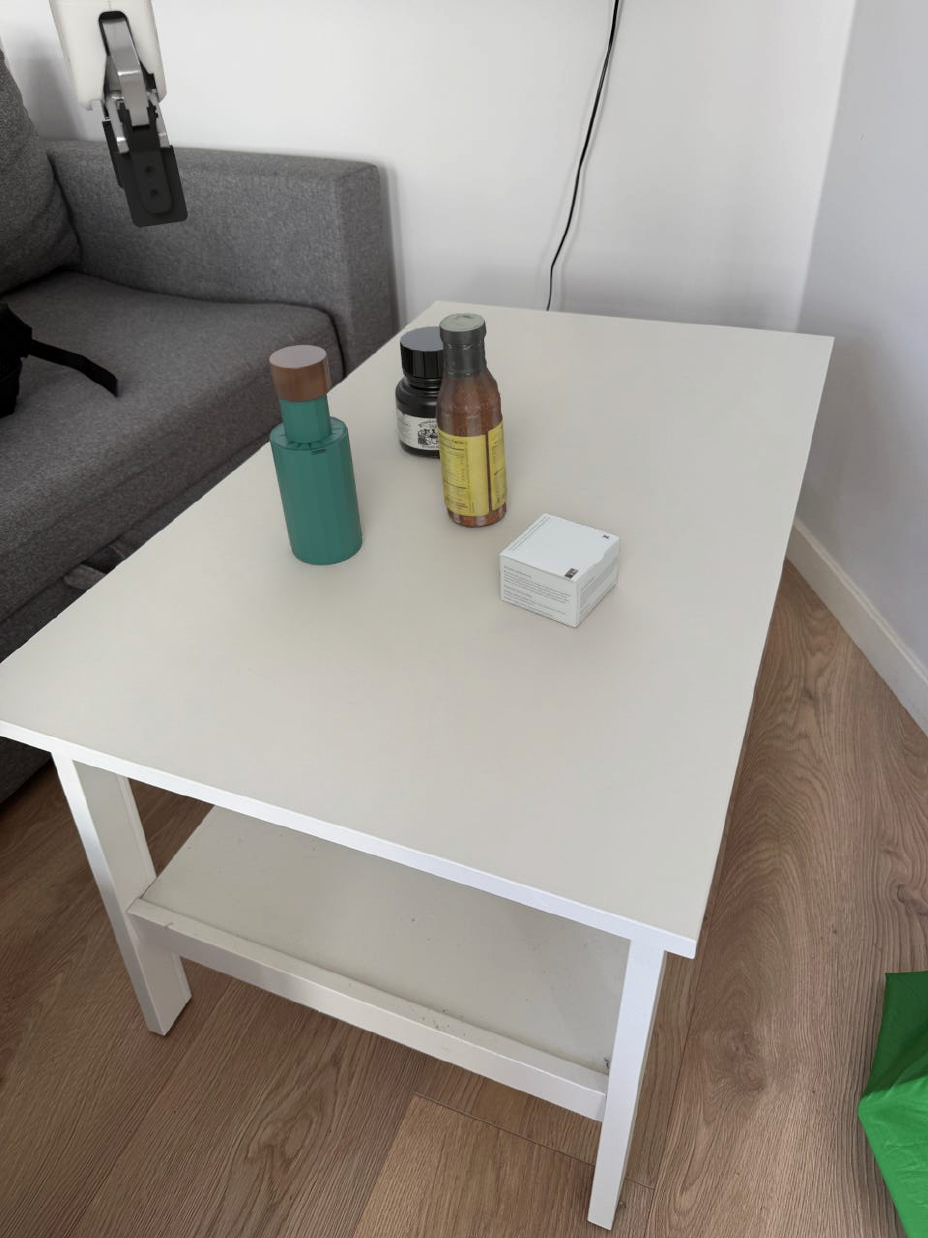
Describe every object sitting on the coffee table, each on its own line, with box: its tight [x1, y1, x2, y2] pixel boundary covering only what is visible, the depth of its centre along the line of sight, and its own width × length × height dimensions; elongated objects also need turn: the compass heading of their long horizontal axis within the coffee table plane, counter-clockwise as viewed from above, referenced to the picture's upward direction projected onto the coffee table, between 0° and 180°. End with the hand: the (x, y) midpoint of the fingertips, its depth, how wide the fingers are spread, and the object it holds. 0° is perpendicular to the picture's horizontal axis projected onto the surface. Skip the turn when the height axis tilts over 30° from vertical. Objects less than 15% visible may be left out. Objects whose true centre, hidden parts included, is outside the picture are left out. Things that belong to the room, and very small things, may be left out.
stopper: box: [268, 344, 332, 402], centre depth 78 cm, size 5×5×6 cm
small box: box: [498, 512, 622, 628], centre depth 79 cm, size 8×8×5 cm
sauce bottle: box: [436, 312, 508, 528], centre depth 85 cm, size 7×6×20 cm
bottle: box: [268, 393, 363, 566], centre depth 83 cm, size 7×7×16 cm
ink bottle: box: [394, 325, 444, 458], centre depth 100 cm, size 10×9×12 cm
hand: (151, 202), depth 58 cm, fingers open, 9 cm apart
